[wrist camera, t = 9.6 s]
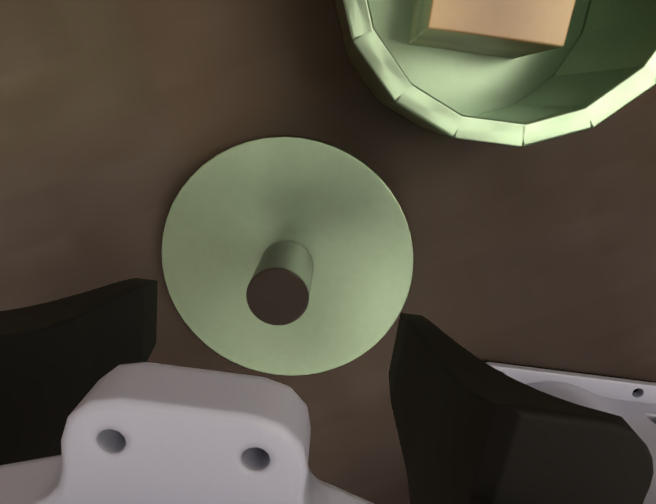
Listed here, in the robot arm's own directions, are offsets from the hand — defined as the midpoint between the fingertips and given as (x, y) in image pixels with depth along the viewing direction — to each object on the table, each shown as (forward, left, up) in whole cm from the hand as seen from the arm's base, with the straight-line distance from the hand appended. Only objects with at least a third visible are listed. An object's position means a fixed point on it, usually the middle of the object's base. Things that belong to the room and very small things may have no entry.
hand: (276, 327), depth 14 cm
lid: (0, +1, -8) cm, 8 cm away
